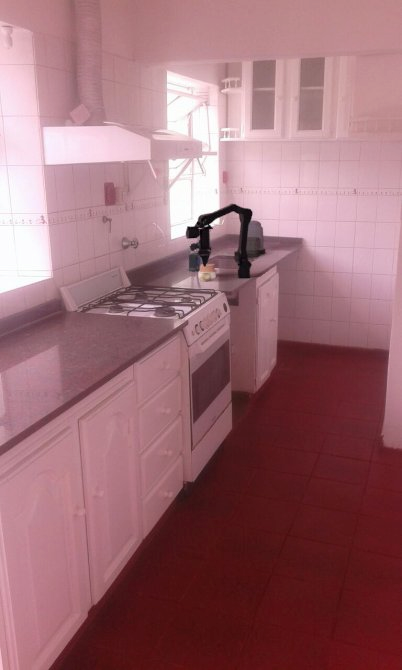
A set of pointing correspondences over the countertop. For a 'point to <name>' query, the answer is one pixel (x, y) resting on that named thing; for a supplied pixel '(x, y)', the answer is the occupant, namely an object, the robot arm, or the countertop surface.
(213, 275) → the tower base
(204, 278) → the maple puck
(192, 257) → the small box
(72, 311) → the countertop surface
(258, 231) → the juicer
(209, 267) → the tower top
